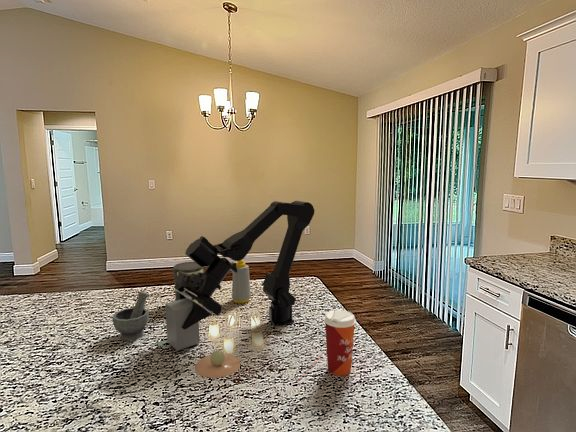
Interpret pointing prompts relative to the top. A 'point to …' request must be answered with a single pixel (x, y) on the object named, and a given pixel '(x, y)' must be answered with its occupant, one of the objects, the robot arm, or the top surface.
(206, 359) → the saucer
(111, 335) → the top surface
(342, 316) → the paper cup
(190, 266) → the coffee can
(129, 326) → the mortar and pestle
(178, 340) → the grey tall block
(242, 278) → the soap bottle
